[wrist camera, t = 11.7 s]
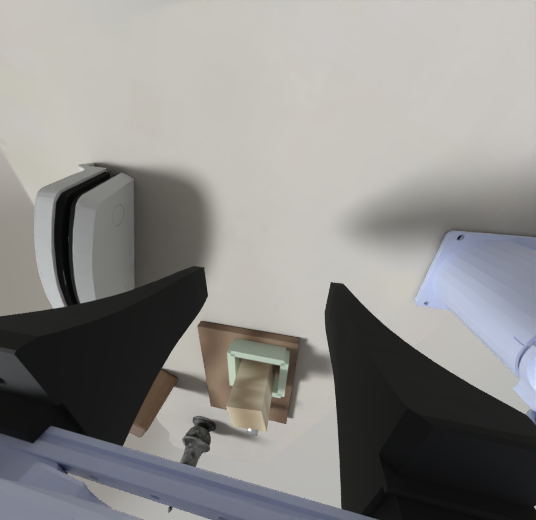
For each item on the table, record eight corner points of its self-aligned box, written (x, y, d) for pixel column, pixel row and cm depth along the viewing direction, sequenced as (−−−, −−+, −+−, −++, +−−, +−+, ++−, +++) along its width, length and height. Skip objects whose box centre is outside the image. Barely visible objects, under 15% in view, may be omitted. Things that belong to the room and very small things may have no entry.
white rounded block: (89, 158, 20) (-18, 172, 11) (140, 174, 21) (79, 196, 13) (102, 282, 28) (44, 344, 19) (139, 287, 29) (100, 347, 21)
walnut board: (299, 337, 25) (298, 344, 24) (286, 417, 34) (286, 424, 33) (200, 321, 27) (197, 326, 26) (213, 400, 36) (210, 406, 35)
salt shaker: (216, 433, 42) (186, 523, 31) (191, 425, 43) (153, 511, 32) (217, 420, 39) (185, 514, 29) (191, 412, 40) (149, 501, 29)
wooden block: (172, 386, 37) (140, 439, 30) (154, 376, 36) (117, 427, 29) (179, 378, 35) (146, 431, 28) (159, 367, 35) (122, 418, 28)
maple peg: (272, 353, 26) (261, 411, 20) (275, 372, 28) (266, 431, 22) (244, 351, 27) (225, 406, 21) (249, 370, 29) (233, 426, 22)
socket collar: (290, 348, 25) (289, 361, 23) (285, 384, 29) (284, 399, 27) (232, 337, 26) (226, 349, 24) (234, 374, 30) (229, 387, 28)
